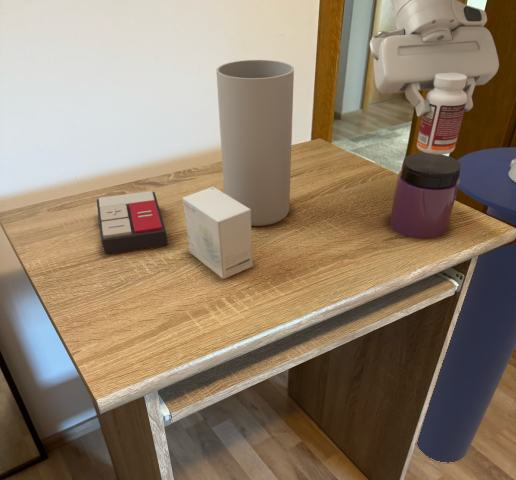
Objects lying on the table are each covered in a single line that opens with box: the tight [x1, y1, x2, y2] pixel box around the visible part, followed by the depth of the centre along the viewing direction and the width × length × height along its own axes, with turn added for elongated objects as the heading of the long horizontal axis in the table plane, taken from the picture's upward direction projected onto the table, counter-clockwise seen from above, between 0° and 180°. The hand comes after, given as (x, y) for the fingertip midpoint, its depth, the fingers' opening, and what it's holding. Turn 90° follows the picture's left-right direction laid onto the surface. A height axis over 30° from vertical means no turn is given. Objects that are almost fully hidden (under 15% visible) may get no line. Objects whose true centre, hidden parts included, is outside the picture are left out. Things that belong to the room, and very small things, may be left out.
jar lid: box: [400, 152, 461, 188], centre depth 84 cm, size 10×10×2 cm
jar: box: [389, 170, 460, 240], centre depth 87 cm, size 10×10×11 cm
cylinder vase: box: [215, 59, 295, 227], centre depth 87 cm, size 12×12×25 cm
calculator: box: [96, 190, 168, 255], centre depth 89 cm, size 11×4×15 cm
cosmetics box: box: [182, 186, 254, 280], centre depth 79 cm, size 10×6×10 cm, turn 37°
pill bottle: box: [416, 72, 467, 155], centre depth 78 cm, size 6×6×11 cm
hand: (445, 112), depth 77 cm, fingers closed on pill bottle, 6 cm apart
